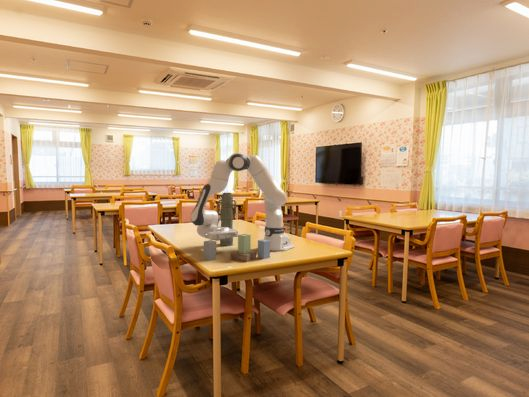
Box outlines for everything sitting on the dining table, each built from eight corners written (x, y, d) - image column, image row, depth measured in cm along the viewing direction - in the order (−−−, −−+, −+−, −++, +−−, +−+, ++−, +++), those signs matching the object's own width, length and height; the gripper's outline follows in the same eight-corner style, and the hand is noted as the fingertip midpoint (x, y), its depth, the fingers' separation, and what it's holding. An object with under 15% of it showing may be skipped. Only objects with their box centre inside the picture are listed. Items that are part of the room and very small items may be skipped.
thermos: (236, 245, 230) (236, 193, 227) (218, 246, 228) (218, 193, 225) (234, 243, 239) (235, 192, 236) (217, 243, 236) (218, 192, 234)
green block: (244, 251, 200) (244, 233, 200) (250, 252, 197) (250, 234, 196) (237, 252, 197) (238, 234, 196) (244, 253, 193) (244, 235, 193)
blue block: (263, 256, 204) (263, 239, 203) (269, 257, 200) (270, 240, 200) (257, 257, 200) (257, 240, 199) (263, 259, 197) (264, 241, 196)
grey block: (210, 257, 198) (210, 240, 197) (216, 259, 194) (216, 241, 194) (203, 258, 194) (203, 241, 193) (209, 260, 191) (209, 242, 190)
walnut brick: (240, 256, 205) (240, 249, 204) (256, 258, 201) (256, 251, 200) (230, 260, 194) (230, 253, 193) (246, 262, 190) (246, 255, 189)
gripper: (202, 229, 205) (217, 233, 196) (228, 226, 220) (243, 229, 211) (202, 240, 206) (217, 244, 196) (228, 236, 221) (243, 239, 211)
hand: (231, 236), depth 204 cm, fingers open, 8 cm apart
